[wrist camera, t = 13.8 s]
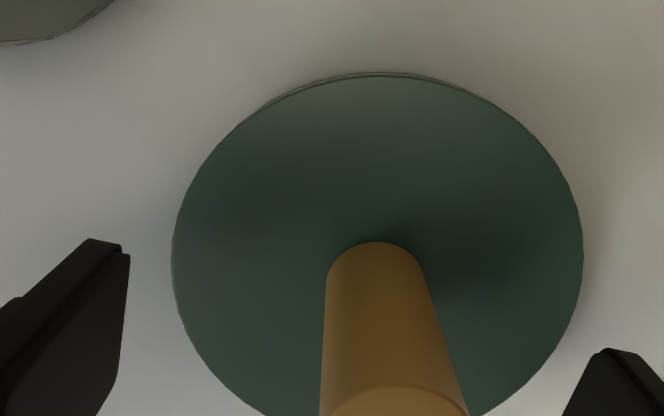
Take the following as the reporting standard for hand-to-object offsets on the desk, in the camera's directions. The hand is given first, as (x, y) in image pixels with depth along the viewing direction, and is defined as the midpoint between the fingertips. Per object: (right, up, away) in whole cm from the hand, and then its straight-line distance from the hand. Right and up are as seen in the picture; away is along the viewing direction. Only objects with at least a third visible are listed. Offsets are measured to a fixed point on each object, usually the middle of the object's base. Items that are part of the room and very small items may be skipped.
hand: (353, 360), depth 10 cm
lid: (+1, +1, +3) cm, 3 cm away
